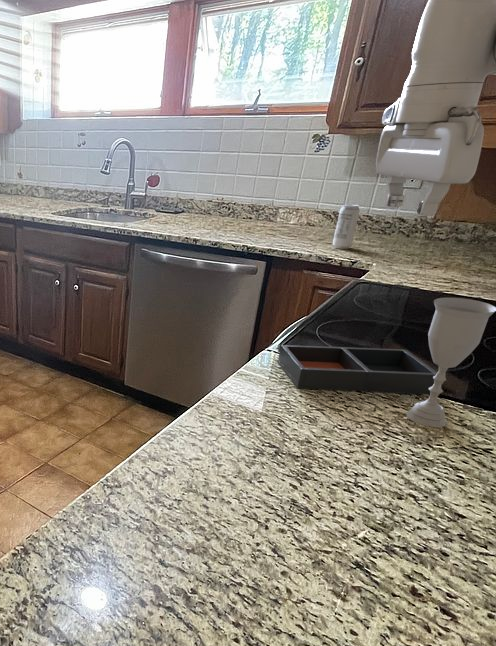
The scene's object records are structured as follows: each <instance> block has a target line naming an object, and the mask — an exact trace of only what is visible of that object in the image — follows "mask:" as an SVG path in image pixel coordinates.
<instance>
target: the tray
mask: <svg viewBox="0 0 496 646" xmlns="http://www.w3.org/2000/svg"><path fill="white" fill-rule="evenodd" d="M277 364H278V365H279V366H280V368H281V369H282V370H283V372H284V374H286V375H287V377H288V378H289V380H290V381H291V382H292V384H293V385H294V386H295V388H297V389H303V390H305V389H306V390H324V391H344V392H345V391H347V392H367V393H387V394H388V393H389V394H407V395H408V394H409V395H428V396H430V390H429V388H430V387H432V386H433V384H434V378H433V377H434V376H435V375H436V374H437V372H438V371H437V370H435V369H434V368H433V367H431V366H429V364H427V363H425V362H424V361H423V360H421V359H420V358H418V357H417V356H416V355H414V354H413V353H412V352H410V351H409V350H407V349H404V348H381V347H378V348H377V347H375V348H374V347H353V346H351V347H350V346H348V347H347V346H323V345H322V346H319V345H296V344H295V345H294V344H281V345H280V348H279V354H278V357H277Z"/></svg>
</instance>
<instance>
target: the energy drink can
mask: <svg viewBox="0 0 496 646" xmlns="http://www.w3.org/2000/svg"><path fill="white" fill-rule="evenodd" d="M359 207H360V205H359V204H354V203H353V204H351V203H350V204H349V203H348V204H347V203H346V204H342V207H341V208H340V209H339V213H338V217H337V222H336V226H335V231H334V236H333V240H332V246H333V248H335V249H339V250H349V249H350V247H352V246H353V243H354V242H353V241H354V236H355V233H356V228H357V225H358V220H359V215H360V213H361V210H360V208H359Z"/></svg>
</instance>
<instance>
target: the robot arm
mask: <svg viewBox="0 0 496 646" xmlns="http://www.w3.org/2000/svg"><path fill="white" fill-rule="evenodd" d="M421 15H422V16H421V18H420V22H419V24H418V28H417V32H416V36H415V39H414V43H413V46H412V47H413V48H412V51H411V62H412V63H411V64H412V65H411V69H410V72H409V75H408V76H407V79H406V81H405V82H404V85H403V89H402V92H401V96H400V97H398V99H396V101H395V102H394V103H393V104H391V105H390V106H389V107H387V108H386V109H385V110H384V112H383V114H382V118H381V124H382V125H384V128H383V129H382V132H381V134H380V138H379V142H378V149H377V153H376V159H375V170H376V174H378V175H383V176H387V179H386V190H387V191H386V192H387V198H386V202H385V206H386V207H390V208H401V207H403V205H404V201H405V197H406V195H405V194H404V184H406V182H407V179H410V180H416V181H424V182H427V186H426V190H427V192H426V194H425V197H424V198H423V200H422V201H419V203H418V208H417V210H416V213H417V214H418V215H420V216H423V217H432V216H435V215H437V213H438V208H439V205H440V203H441V202H442V200H443V199H444V198H445V196H446V195H447V194H448V192H449V191H450V188H451V185H452V184H453V185H454V184H455V185H456V184H457V185H458V184H468V183H469V182H470V181H471V180H472V179H473V177H474V176H475V174H476V172H477V169H478V165H479V162H480V161H479V160H480V157H481V153H482V147H483V142H484V134H485V128H484V124H483V123H482V115H480V112H479V108H478V103H479V99H480V96H481V93H482V89H483V86H484V83H485V80H486V78H487V76H494V77H496V0H427V2H426V5H425V7H424V10H423V13H422V14H421ZM385 125H386V126H385Z"/></svg>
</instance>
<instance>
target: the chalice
mask: <svg viewBox="0 0 496 646" xmlns="http://www.w3.org/2000/svg"><path fill="white" fill-rule="evenodd" d="M433 304H434V308H435V311H434V314H433V316H432V320H431V323H430V327H429V330H428V333H427V336H428V338H427V339H428V347H429V351H430V355H431V359H432V362H433V364H435V365H436V366H437V367H438V371H437V374H436V375H435V376H434V377H433V378H434V384H433V386H432V387H430V388H429V390H430V395H429V397H428V398H427V399H425V400H419V401H418V402H416V403H414V405H413V406H412V407H410V410H408V411H406V413H405V416H406V417H407V418H408V419H409V420H411V421H412V422H414V423H416V424H419V425H422V426H426V427H430V428H442V427H443V428H444V427H446V426H447V425H448V422H447V419H446V418H447V416H446V411H445V409H444V407H443V405H441V404H439V402H438V397H439V396H440V394H442V393H443V392H444V390H443V389H442V385H443V384H444V382H446V381H447V378H446V372H447V371H448V369H450V368H456V367H457V366H458V365H460V364H461V363H462V362H463V361H464V360H465V359H467V357H469V356H470V355H471V354H472V353H473V351H475V349H476V348H477V347H478V346H479V345H480V343H481V340H482V338H483V334H484V332H485V329H486V326H487V323H488V321H489V318H490V317H491V316H492V315H494V313H495V312H496V306H495V305H493V304H490V303H487V302H485V301H481V300H475V299H470V298H465V297H464V298H463V297H439V298H436V299H434V300H433Z"/></svg>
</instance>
